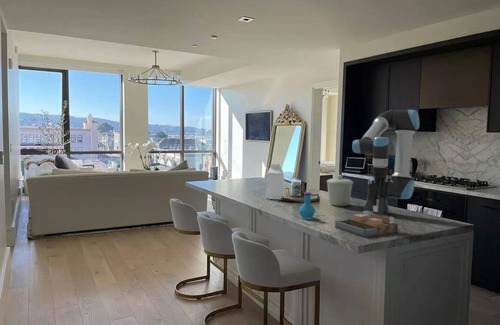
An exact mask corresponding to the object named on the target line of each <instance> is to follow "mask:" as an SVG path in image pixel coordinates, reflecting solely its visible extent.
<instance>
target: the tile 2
mask: <svg viewBox="0 0 500 325" xmlns="http://www.w3.org/2000/svg"><path fill="white" fill-rule="evenodd" d="M368 224H371V225H374V226H377V225H382V220H381V219H377V218H370V219H368Z"/></svg>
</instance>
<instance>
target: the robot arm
mask: <svg viewBox="0 0 500 325" xmlns="http://www.w3.org/2000/svg"><path fill="white" fill-rule="evenodd" d="M419 128H420V115H419V113H418V111H417V110H415V109H389V110H386V111H384V112H382V113H380V114H378V116H376V117H375V118H374V119H373V121H372V124H371V126H370V127H369V129H368V130H367V131H366V132H365V133H364V134H363V136H362V138H361V139H355V140H353V141H352V145H351V146H352V147H351V148H352V152H353V153H355V154H363V155H364V154H365V155H367V154H368V155H370V154H371V155H372V172H371V173H372V175H373V176H370V177H368V180H367V182H368V183H367V197H366V198H367V200H366V202H365V206H364V209H363V211H371V212H373V211H375V212H378V204H379V200H378V196H379V197H384V206H383V215H389V214H390V207H389V206H388V198H393V199H399V200H408V199H410V198H412V195H413V193H414V189H415V181H414V180H413V178H412V176H411V175H410V168H411V158H412V157H411V156H412V148H413V145H412V143H413V137H414V135H415V133H416V131H417V130H419ZM392 129H393V130H394V132H395V133H396V144H395V142H394V141H392V140H390V138H389V137H386V136H381V135H382V134H383V133H384V132H385V131H387V130H392ZM394 153H395V159H394V172H393V173H392V175H391V176H390V178H389V175H388V172H389V171H388V166H389V165H388V164H389V156H390V155H391V154H394Z"/></svg>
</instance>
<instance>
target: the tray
mask: <svg viewBox="0 0 500 325" xmlns="http://www.w3.org/2000/svg"><path fill="white" fill-rule="evenodd" d="M334 228H336V229H338V230H341V231H344V232H347V233H350V234H353V235H355V236H360V237H361V238H370V237H377V236H378V235H377V228H373V229H366V230H364V229H361V228H358V227H355V226H352V225H348V219H341V220H335V221H334Z"/></svg>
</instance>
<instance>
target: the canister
mask: <svg viewBox="0 0 500 325" xmlns="http://www.w3.org/2000/svg"><path fill="white" fill-rule="evenodd" d="M326 184H327V194H328V195H327V196H328V202H329V204H330V205H331V206H333V207H334V206H335V207H345V206H349V203H350V200H351V195H352V190H353V189H352V188H353V184H354V181H352V180H351V179H348V178H343V174H338V175H337V176H336V178H335V177H334V178H329V179H327V180H326Z"/></svg>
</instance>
